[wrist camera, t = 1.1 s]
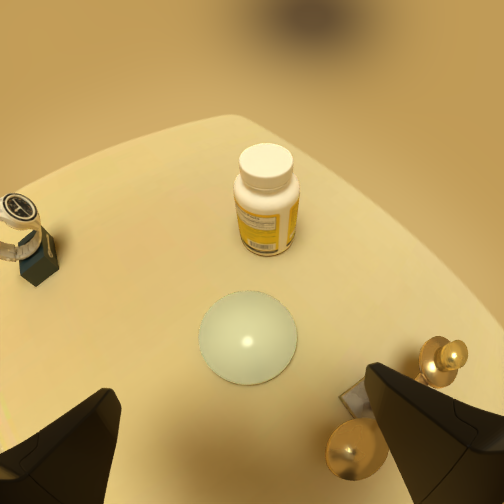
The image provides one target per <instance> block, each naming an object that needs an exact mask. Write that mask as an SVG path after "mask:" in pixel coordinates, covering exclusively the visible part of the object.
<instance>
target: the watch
mask: <svg viewBox="0 0 504 504" xmlns="http://www.w3.org/2000/svg"><path fill="white" fill-rule="evenodd" d="M0 221H4V222H5V223H6V224H7V225H9V226H10V227H11V228H13V229H16V230H27V229H32V230H33V231H32V232H31V233H29V234H28V235H27V236H26V237H25V238H23V239H22V240H21V241H20V242H19V243H18V247H15V245H13V244H7V243H3V242H1V241H0V259H2V260H6V261H12V262H16V260H19V265H20V275H21V276H22V277H23V278H25V279H26V280H27V281H29V282H30V283H31V284H33V285H34V286H35V287H36V286H38V285H39V284H40V283H41V282H43V281H44V280H45V279H47V278H48V277H49V276H50V275H52V274H53V273H54V272H56V271H57V270H58V269H59V266H58V261H57V256H56V251H55V246H54V240H53V237H52V236H51V235H50V234H49V233H48V232H47V231H46V230H45V229H44V228H43V227H42V226H41V222H40V216H39V213H38V210H37V208H36V206H35V204H34V203H33V202H32V201H31V200H30V199H29V198H27V197H26V196H23V195H21V194H18V193H9V194H7V195H5V196H4V197H1V198H0Z"/></svg>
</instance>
